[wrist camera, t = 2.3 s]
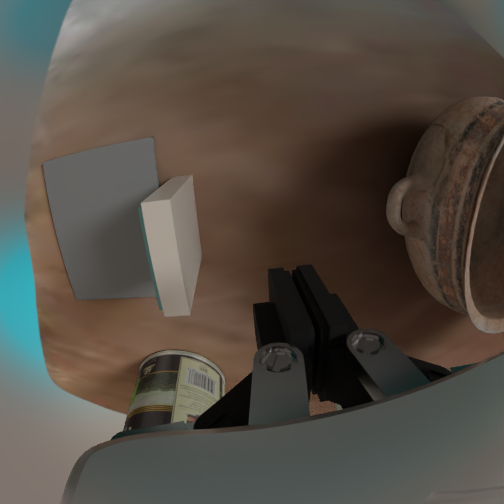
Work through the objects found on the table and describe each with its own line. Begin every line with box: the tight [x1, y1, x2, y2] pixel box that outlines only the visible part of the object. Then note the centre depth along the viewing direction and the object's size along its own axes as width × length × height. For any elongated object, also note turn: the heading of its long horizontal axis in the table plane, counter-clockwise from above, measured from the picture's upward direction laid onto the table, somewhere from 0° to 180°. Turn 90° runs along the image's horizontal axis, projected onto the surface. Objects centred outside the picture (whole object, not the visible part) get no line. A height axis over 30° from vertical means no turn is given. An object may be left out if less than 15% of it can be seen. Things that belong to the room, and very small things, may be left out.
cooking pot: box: [386, 97, 504, 333], centre depth 19 cm, size 25×19×12 cm
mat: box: [43, 137, 159, 300], centre depth 24 cm, size 11×14×1 cm
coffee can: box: [123, 350, 225, 431], centre depth 25 cm, size 10×10×14 cm
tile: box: [138, 175, 202, 317], centre depth 20 cm, size 2×7×9 cm, turn 4°
